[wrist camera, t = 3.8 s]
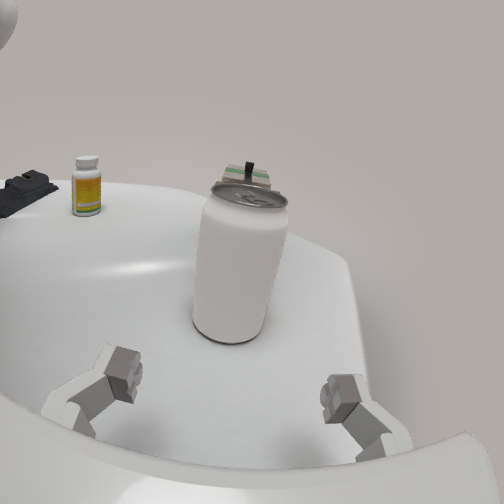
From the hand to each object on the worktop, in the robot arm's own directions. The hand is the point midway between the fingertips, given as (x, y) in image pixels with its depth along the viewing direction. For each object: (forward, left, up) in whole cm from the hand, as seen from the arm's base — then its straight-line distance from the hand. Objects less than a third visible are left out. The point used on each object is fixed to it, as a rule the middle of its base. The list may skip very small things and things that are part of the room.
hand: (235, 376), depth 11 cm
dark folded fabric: (-60, +10, -8) cm, 61 cm away
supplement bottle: (-39, +18, -8) cm, 43 cm away
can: (-6, +11, -8) cm, 15 cm away
